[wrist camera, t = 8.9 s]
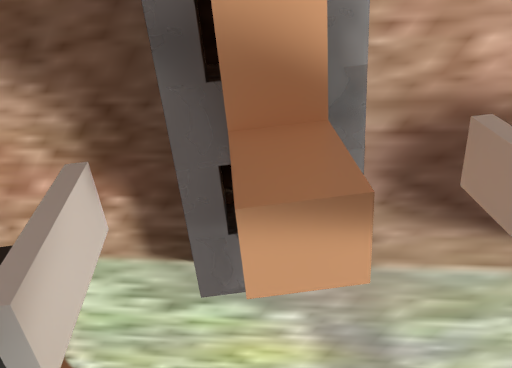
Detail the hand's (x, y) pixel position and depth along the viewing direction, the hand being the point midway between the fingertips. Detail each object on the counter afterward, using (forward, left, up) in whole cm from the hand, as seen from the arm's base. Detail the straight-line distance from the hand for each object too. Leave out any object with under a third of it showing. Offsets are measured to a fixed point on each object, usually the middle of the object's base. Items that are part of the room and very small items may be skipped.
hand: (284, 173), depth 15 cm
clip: (0, 0, -8) cm, 8 cm away
